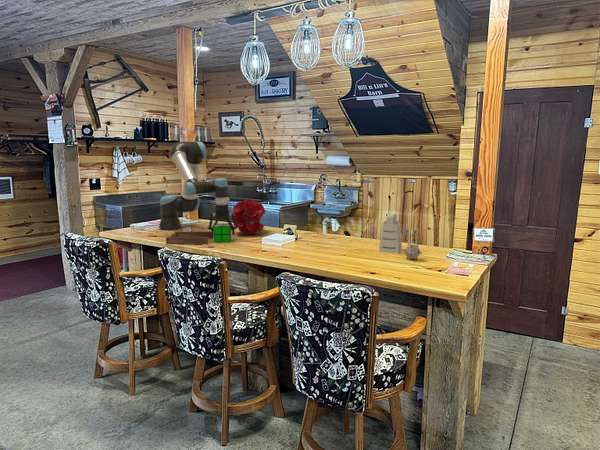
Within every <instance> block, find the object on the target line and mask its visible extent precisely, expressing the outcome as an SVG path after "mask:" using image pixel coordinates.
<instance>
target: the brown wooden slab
mask: <svg viewBox="0 0 600 450" xmlns="http://www.w3.org/2000/svg"><path fill="white" fill-rule="evenodd" d="M209 239H214V237H213V235H212V231H174V232H172V233H171V234H170V235H168V236H167V237H166V238H165V242H166V243H165V244H166V246H168V245H167V244H189V245H209Z"/></svg>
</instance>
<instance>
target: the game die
mask: <svg viewBox="0 0 600 450" xmlns="http://www.w3.org/2000/svg"><path fill="white" fill-rule="evenodd" d="M402 251H403V252H404V254H405V256H406V259H407V260H408V259H411V260H415V261H418V257H419V255H421V254H422V252H421V251H420V248H419V243H418V244H411V243H407V246H406V247H405V249H402ZM406 259H405V260H406Z"/></svg>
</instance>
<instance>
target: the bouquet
mask: <svg viewBox="0 0 600 450" xmlns="http://www.w3.org/2000/svg"><path fill="white" fill-rule="evenodd" d="M266 212H267V211H266V209H265V207H264V205H263V203H262V202H261V201H255V200H253V199H247V198H245V199H244V201H243V200H239V201H238V202H237V203H236V204H235V205H234V207H233V209H232V210H231V211H230V213H234V218H235V221H236V224H237V229H238V231H239V232H240V233H242V234H244V235H249V234H254V235H255V234H257V233H259V232H260V231H261V230H263V229H264V227H265V225H264V223H263V222H262V221H261V220H262V217H263V215H265V213H266Z"/></svg>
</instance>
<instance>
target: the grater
mask: <svg viewBox="0 0 600 450" xmlns="http://www.w3.org/2000/svg"><path fill="white" fill-rule="evenodd" d="M401 235H402V234H401V224H400V221H397V214H396V213H388V214H386V220H385V221H384V222H382V227H381V234H380V240H379V248H378V252H379V253H385V252H387V254H396V253H398V254H399V253H401V251H403V244H402V236H401Z"/></svg>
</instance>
